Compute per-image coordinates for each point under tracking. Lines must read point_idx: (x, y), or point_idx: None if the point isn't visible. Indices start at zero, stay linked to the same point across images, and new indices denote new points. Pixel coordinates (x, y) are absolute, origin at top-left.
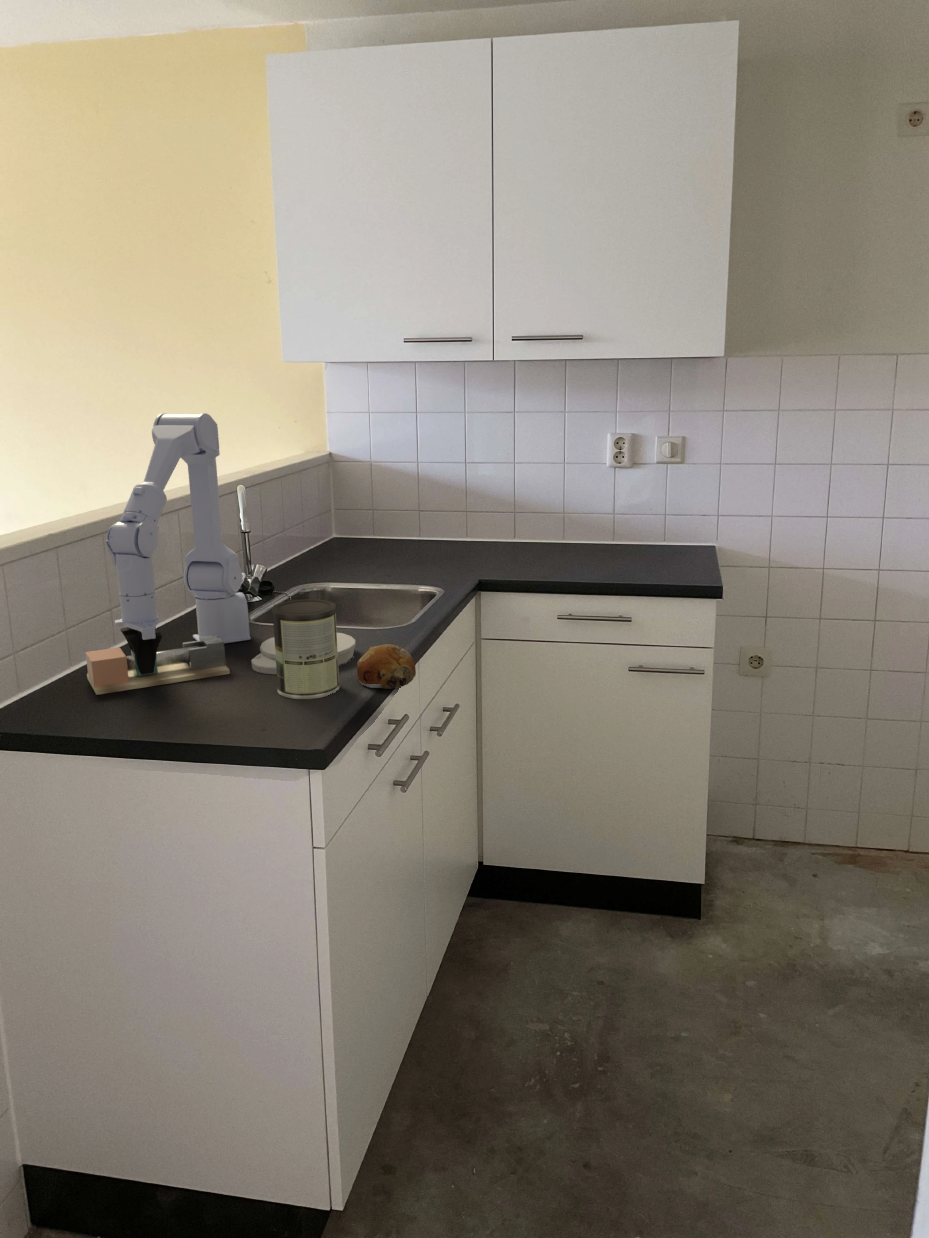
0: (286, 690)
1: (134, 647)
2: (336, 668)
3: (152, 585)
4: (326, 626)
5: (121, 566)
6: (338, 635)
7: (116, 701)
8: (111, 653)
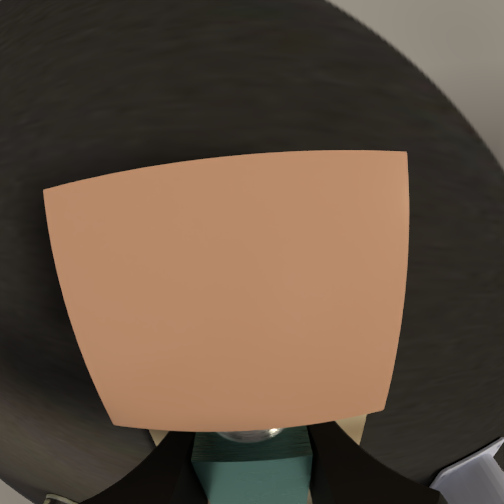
0: (48, 501)
1: (105, 493)
2: None
3: None
4: None
5: None
6: None
7: (17, 260)
8: (232, 369)
